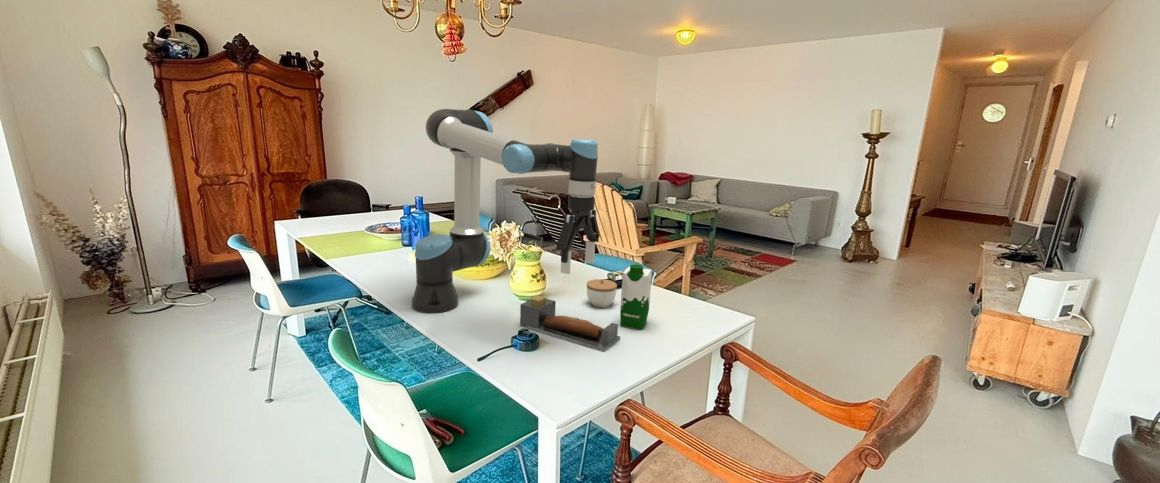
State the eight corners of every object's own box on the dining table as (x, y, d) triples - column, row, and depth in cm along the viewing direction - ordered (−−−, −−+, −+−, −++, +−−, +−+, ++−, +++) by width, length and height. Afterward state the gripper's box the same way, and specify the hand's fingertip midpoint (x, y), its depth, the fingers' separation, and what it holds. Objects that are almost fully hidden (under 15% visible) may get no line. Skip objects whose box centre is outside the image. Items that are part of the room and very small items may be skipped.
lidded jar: (614, 299, 176) (615, 275, 174) (617, 310, 165) (618, 284, 163) (585, 298, 175) (586, 274, 173) (586, 309, 165) (587, 283, 163)
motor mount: (516, 325, 150) (517, 299, 148) (535, 315, 158) (536, 290, 156) (604, 351, 134) (605, 323, 132) (620, 339, 143) (621, 312, 141)
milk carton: (616, 327, 152) (620, 266, 147) (623, 317, 160) (627, 259, 155) (644, 331, 149) (649, 270, 144) (649, 321, 157) (654, 262, 153)
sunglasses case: (608, 329, 146) (605, 315, 141) (600, 348, 141) (597, 334, 137) (554, 318, 152) (550, 304, 148) (545, 336, 148) (541, 322, 143)
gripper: (569, 202, 123) (565, 280, 128) (613, 192, 144) (608, 260, 149) (545, 198, 126) (542, 275, 131) (591, 189, 147) (588, 256, 152)
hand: (577, 267), depth 140 cm, fingers open, 13 cm apart
